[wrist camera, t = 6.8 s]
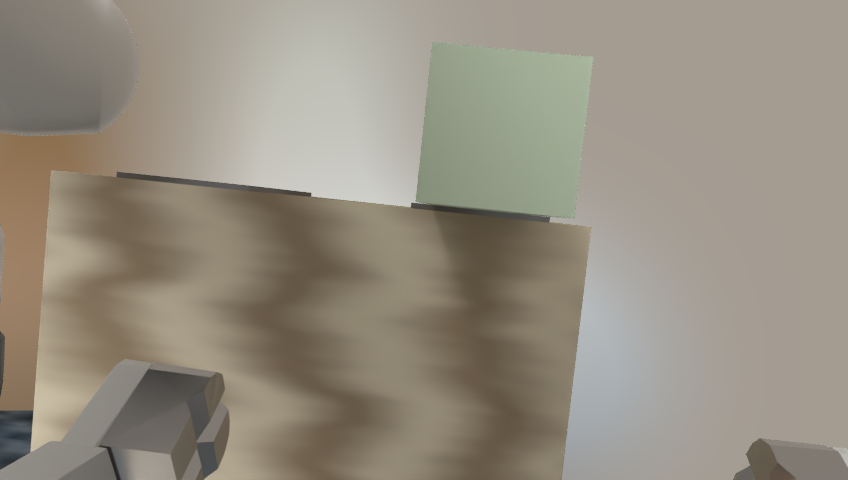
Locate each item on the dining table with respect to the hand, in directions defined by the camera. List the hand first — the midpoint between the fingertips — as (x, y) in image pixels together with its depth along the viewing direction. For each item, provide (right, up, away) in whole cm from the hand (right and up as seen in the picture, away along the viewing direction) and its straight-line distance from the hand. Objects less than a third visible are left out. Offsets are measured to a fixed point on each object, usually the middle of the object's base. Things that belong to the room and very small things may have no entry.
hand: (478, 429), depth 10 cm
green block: (+1, +4, +16) cm, 17 cm away
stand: (-7, -21, +20) cm, 30 cm away
